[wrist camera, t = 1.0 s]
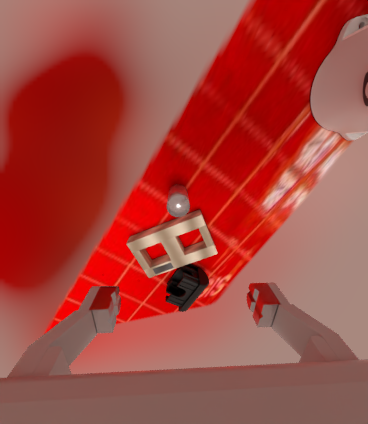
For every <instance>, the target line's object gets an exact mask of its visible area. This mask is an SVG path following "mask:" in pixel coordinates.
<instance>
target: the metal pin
mask: <svg viewBox="0 0 368 424" xmlns="http://www.w3.org/2000/svg"><path fill="white" fill-rule="evenodd" d="M189 208H190V205H189V199H188V193H187V189H186V187H185V186H183V185H181V184H175V185H173V186H172V187H171V188H170V190H169V195H168V202H167V210H168V212H169V213H170V214H171V215H172V216H175V217H182V216H184V215H186V214H187V213H188V211H189Z"/></svg>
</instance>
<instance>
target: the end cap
mask: <svg viewBox="0 0 368 424" xmlns="http://www.w3.org/2000/svg"><path fill="white" fill-rule="evenodd" d="M208 284H209V279H208V277H207V275H206V273H205V272H204V271H203V270H201V269H200V268H198V267H196V266H194V265H192V264H187V265H184V266H182V267H179V268H178V269H177V270H176V271H175V273H174V274H173V276H172V277H171V278H170V280H169V281H168V283H167V285H168V286H167V288H166V293H169V294H170V296H166V302H169V303H171V304H174V305H177V306H179V311H182V312H183V311H186V310H188V308H189V307H190V306H191V305H192V304H193V302H194V301H195V300H196V299H197V298H198V296H199V295H200V294H201V293H202V292H203V290H204V289H205V288H206V287H207V286H208Z"/></svg>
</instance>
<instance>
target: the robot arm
mask: <svg viewBox="0 0 368 424" xmlns="http://www.w3.org/2000/svg"><path fill="white" fill-rule="evenodd" d="M359 25H360V29H359ZM310 102H311V110H312V113H313V116H314V118H315V120H316V121H317V122H318V123H319V125H321V126H322V127H323V128H325V129H327V130H330V131H334V132H338V133H340V134H341V135H342V137H343V138H345V139H346V140H348V141H351V140H356V139H358V138H360V137H362V136H363V135H365V134H367V133H368V14H366V15H362V16H358V17H355V18H353V19H351V20H349V21H348V22H346V24H345V25H344V26H343V28H342V30H341V32H340V35H339V37H338V40H337V42H336V45H335V46H334V48H333V49H332V51H331V52H330V53H329V55H328V56H327V57H326V58H325V60H324V61H323V63H322V64H321V66H320V68H319V70H318V72H317V74H316V76H315V79H314V82H313V85H312V89H311V98H310ZM249 290H250V291H249V292H248V293H247V303H248V307H249V309H250V310H251V311H252V312H253V318H254V320H255V322H256V324H257V327H272V329H273V330H274V331H276V332H277V333H278V334H279V335H280V336H281V337H282V338H283V339H284V340H285V341H286V342H287V343H288V344H289V345H290V346H291V347H292V348H293V349H294V350H295V351H296V352H297V353H298V354H299V355H300V356H301V359H300V361H299V363H286V364H267V365H249V366H248V365H247V366H230V367H229V366H227V367H208V368H189V369H170V370H150V371H132V372H131V371H130V372H111V373H90V374H71V371H70V369H69V365H70V364H71V363H72V362H73V361H74V360H75V359H76V358H77V356H78V355H79V354H80V353H81V352H82V351H83V350H84V348H85V347H86V346H87V345H88V344H89V343H90V342H91V341H92V339H93V338H94V337H95V336H96V335H97V333H110V332H113V330H114V327H115V324H116V316H117V315H118V314H119V310H120V305H121V298H120V296H119V295H118V294H119V287H118V286H101V287H99V286H93V287H91V288H90V290H89V292H88V294H87V295H86V297H85V299H84V301H83V303H82V304H81V306H80V308H79V310H78V311H74V312H73V313H72V314H71V315H69V316H68V317H67V318H65V319H64V320H63V321H61V322H60V323H59V324H57V325H56V326H55V327H54V328H52V329H51V330H50V331H48V332H47V333H46V334H44V335H43V336H42V337H40V338H39V339H38V340H36V341H35V342H34V343H33V344H31V345H30V346H29V347H28V348H27V350H26V351H25V352H24V354H23V355H22V357H21V358H20V360H19V361H18V362H17V364H16V365H15V367H14V368H13V370H12V372H11V373H10V374H9V375H8V377H7V378H0V424H368V359H365V360H359V359H358V358H357V357H356V356H355V354H354V353H353V352H352V351H351V349H350V348H349V347H348V346H347V345H346V343H345V342H344V341H343V340H342V339H341V337H340V336H339V335H338V334H337V333H335V332H334V331H332V330H331V329H329V328H327V327H326V326H325V325H323V324H322V323H320V322H319V321H317V320H316V319H314V318H312V317H311V316H309V315H308V314H306V313H305V312H303V311H302V310H300V309H299V308H297V307H296V306H294V305H291V304H290V303H289V302H288V300H287V299H286V298H285V296H284V295H283V293H282V292H281V291H280V289H279V288H278V286H277V285H276V284H275V283H251V284H250V285H249Z"/></svg>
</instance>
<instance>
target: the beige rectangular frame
mask: <svg viewBox="0 0 368 424" xmlns="http://www.w3.org/2000/svg"><path fill="white" fill-rule="evenodd" d="M197 228H199V230H200V232H201V235H202V237H203V239H204V241H202V242H199V243H196V244H194V245H191V246H188V247H186V248H184V247H183V245H182V243H181V241H180V239H179V237H178V236H179V235H181V234H184V233H186V232H189V231H192V230H194V229H197ZM160 242H161V243H162V244H163V246H164V248H165V250H166V252H167V253H168V254H166V255H164V256H161V257H158V258H156V259H153V260H152V259H151V258H150V256H149V254H148V253H147V251H146V250H145V248H147V247H149V246H152V245H155V244H157V243H160ZM127 245H128V247H129V248H130V250H131V252H132V253H133V255H134V256H135V258H136V259H137V261H138V262H139V264H140V265H141V267H142V268H143V270H144V271H145V273H146V274H147V276H148V277H149V278H150V277H153V276H156V275H159V274H162V273H165V272H167V271H170V270H173V269H176V268H179V267H182V266H184V265H187V264H190V263H193V262H196V261H199V260H201V259H204V258H207V257H210V256H213V255H215V254H218V253H217V250H216V247H215V245H214V242H213V240H212V237H211V235H210V233H209V230H208V228H207V225H206V223H205V220H204V218H203V216H202V213H201V211H200V209H199V210H197V211H194V212H192V213H189V214H187V215H184V216H182V217H179V218H176V219H174V220H171V221H169V222H166V223H164V224H161V225H159V226H156V227H153V228H151V229H148V230H146V231H143V232H141V233H138V234H136V235H133V236H130V237H129V239H128V242H127Z"/></svg>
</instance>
